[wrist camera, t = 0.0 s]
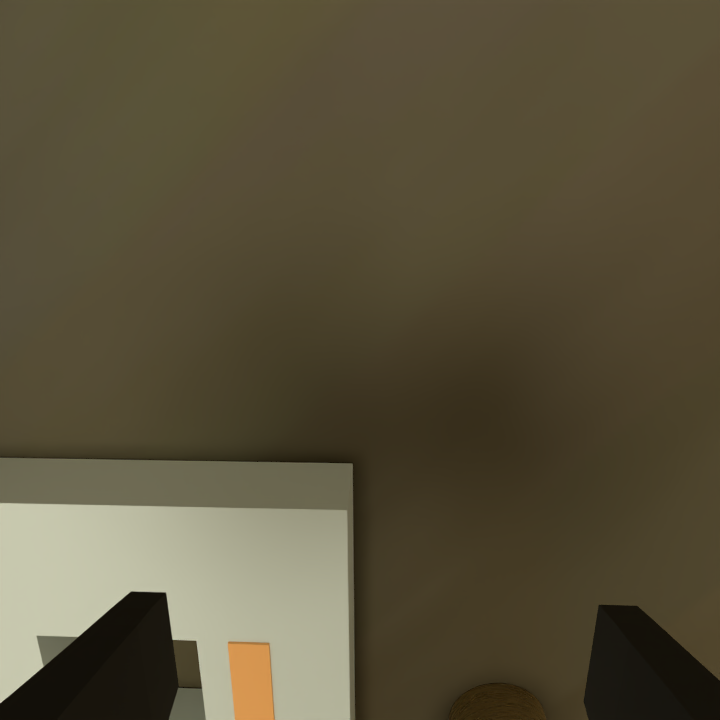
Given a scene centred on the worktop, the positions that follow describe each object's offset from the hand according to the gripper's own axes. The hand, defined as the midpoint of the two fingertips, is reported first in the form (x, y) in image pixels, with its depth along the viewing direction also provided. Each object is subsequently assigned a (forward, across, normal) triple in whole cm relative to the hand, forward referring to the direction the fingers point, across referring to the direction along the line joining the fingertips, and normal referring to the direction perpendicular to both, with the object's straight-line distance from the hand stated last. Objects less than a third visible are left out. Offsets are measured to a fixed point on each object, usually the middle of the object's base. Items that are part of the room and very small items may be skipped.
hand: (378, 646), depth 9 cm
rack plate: (+10, +9, +10) cm, 17 cm away
